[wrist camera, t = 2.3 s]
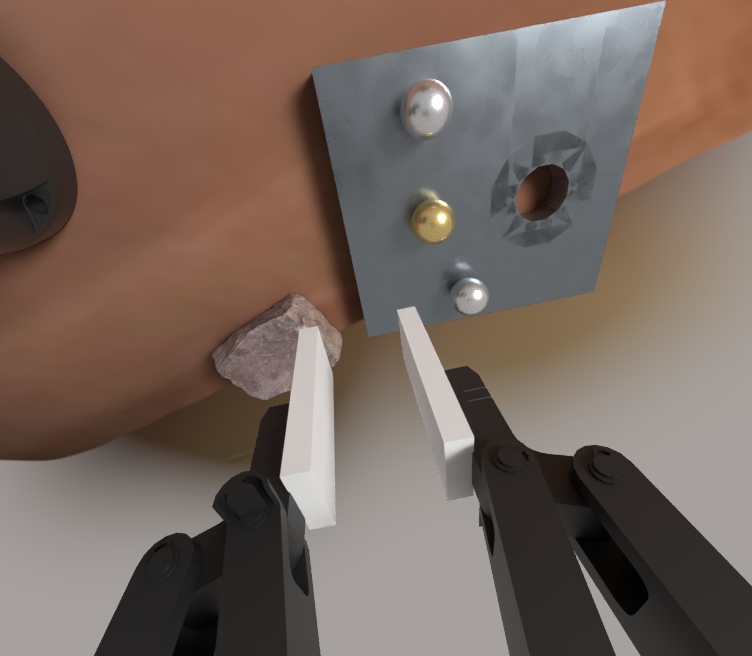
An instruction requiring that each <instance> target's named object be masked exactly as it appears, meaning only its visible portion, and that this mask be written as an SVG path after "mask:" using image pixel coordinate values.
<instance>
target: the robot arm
mask: <svg viewBox="0 0 752 656" xmlns="http://www.w3.org/2000/svg"><path fill="white" fill-rule="evenodd" d="M76 195H77V181H76V173H75V168H74V164H73V160H72V157H71V154H70V151H69V148H68V146H67V144H66V141H65V139H64V137H63V135H62V133H61V131H60V129H59V127H58V126H57V124H56V122H55V120H54V119H53V117H52V116H51V114H50V113H49V111H48V110H47V108H46V107H45V106H44V104H43V103H42V101H41V100H40V99H39V98H38V96H37V95H36V94H35V92H34V91H33V90H32V89H31V88H30V87H29V85H28V84H27V83H26V82H25V81H24V80H23V79H22V78H21V77H20V76H19V75H18V74H17V73H16V72H15V71H14V70H13V69H12V68H11V67H10V66H9V65H8V64H7V63H6V62H5V61H4V60H3V59H1V58H0V254H5V253H10V252H14V251H18V250H21V249H24V248H27V247H29V246H31V245H34V244H36V243H38V242H41V241H43V240H45V239H47V238H49V237H51V236H53V235H54V234H55V233H57V232H58V231H59V230H60V229H61V228H62V227H63V226H64V225H65V224H66V222H67V221H68V220H69V218H70V216H71V214H72V212H73V209H74V206H75V202H76ZM397 315H398V322H399V328H400V335H401V342H402V349H403V356H404V362H405V365H406V368H407V371H408V375H409V377H410V381H411V384H412V387H413V391H414V394H415V397H416V400H417V403H418V407H419V410H420V413H421V416H422V420H423V422H424V426H425V429H426V432H427V436H428V439H429V442H430V445H431V448H432V451H433V455H434V458H435V461H436V465H437V467H438V471H439V474H440V477H441V480H442V484H443V487H444V490H445V493H446V497H447V500H448V501H449V500H454V499H459V498H463V497H468V496H473V487H474V490H475V492H476V495H477V498H478V500H479V503H480V508H479V526H483V531H484V536H485V540H486V545H487V550H488V554H489V559H490V564H491V569H492V574H493V578H494V583H495V588H496V592H497V597H498V602H499V607H500V611H501V616H502V621H503V626H504V631H505V635H506V640H507V645H508V650H509V654H510V656H616V655H615V652H614V650H613V647H612V645H611V642H610V640H609V637H608V635H607V632H606V630H605V628H604V625H603V622H602V620H601V618H600V615H599V613H598V610H597V608H596V605H595V603H594V600H593V598H592V595H591V593H590V590H589V588H588V585H587V583H586V580H585V578H584V575H583V573H582V571H581V568H580V565H579V563H578V560H577V558H576V555H577V556H578V558H579V559H580V561H581V563H582V564H583V566H584V567H585V569H586V570H587V572H588V574H589V575H590V577H591V578H592V580H593V581H594V583H595V585H596V586H597V588H598V589H599V591H600V592H601V594H602V596H603V597H604V599H605V600H606V602H607V603H608V605H609V607H610V608H611V610H612V611H613V613H614V614H615V616H616V618H617V619H618V621H619V622H620V624H621V625H622V627H623V629H624V630H625V632H626V633H627V635H628V637H629V638H630V640H631V641H632V643H633V644H634V646H635V647H636V649H637V651H638V652H639V654H640V655H641V656H752V586H751V585H750V584H749V583H748V582H747V581H746V580H745V579H744V578H743V577H742V576H741V575H740V574H739V573H738V572H737V571H736V569H734V568H733V567H732V565H731V564H730V563H729V562H728V561H727V560H726V559H725V558H724V557H723V556H722V555H721V554H720V553H719V552H718V551H717V550H716V549H715V548H714V547H713V546H712V545H711V544H710V543H709V542H708V541H707V540H706V539H705V538H704V536H703V535H702V534H701V533H700V532H699V531H698V530H697V529H696V528H695V527H694V526H693V525H692V524H691V523H690V522H689V521H688V520H687V519H686V518H685V517H684V516H683V515H682V514H681V513H680V512H679V511H678V510H677V509H676V508H675V507H674V506H673V505H672V503H671V502H669V500H668V499H667V498H666V497H665V496H664V495H663V494H662V493H661V492H660V491H659V490H658V489H657V488H656V487H655V486H654V485H653V484H652V483H651V482H650V481H649V480H648V479H647V478H646V477H645V476H644V475H643V474H642V473H641V471H639V469H638V468H637V467H635V465H634V464H633V463H632V462H631V461H629V460H628V459H627V458H625V457H624V456H623V455H622V454H621V453H619V452H617V451H614V450H612V449H610V448H608V447H603V446H598V445H590V446H584V447H582V448H580V449H579V450H577V451H576V454H575V455H574V456H564V455H553V454H546V453H540V452H537V451H534V450H532V449H530V448H528V447H527V446H525V445H524V444H523V443H521V442H520V441H518V440H517V438H516V437H515V436H514V435H513V433H512V431H511V430H510V428H509V426H508V425H507V423H506V421H505V419H504V418H503V416H502V414H501V413H500V411H499V409H498V407H497V406H496V404H495V402H494V400H493V399H492V398H491V395H490V394H489V392H488V390H487V389H486V388H485V385H484V383H483V382H482V380H481V378H480V376H479V375H478V374H477V373H476V372H474V371H473V370H472V369H470V368H469V367H468V366H465V367H459V368H454V369H449V370H445V371H444V369H443V367H442V365H441V363H440V361H439V359H438V356H437V354H436V352H435V350H434V347H433V345H432V344H431V341H430V339H429V337H428V334H427V332H426V330H425V328H424V325H423V323H422V321H421V319H420V317H419V314H418V312H417V310H416V308H415V306H414V307H409V308H404V309H399V310H397ZM212 507H213V508H214V510H215V511H216V512H217V513H218V514H219V515H220V516H221V518H222V519H223V520H224V521H222V522H221V523H219V524H217V525H216V526H214V527H212V528H210V529H208V530H206V531H205V532H203V533H201V534H199V535H197V536H195V537H193V538H192V539H191V538H190V537H189V536H188V535H187V534H183V533H175V534H172V535H169V536H166V537H164V538H163V539H161V540H160V541H158V542H157V543H155V544H154V545H153V546H152V547H151V548H150V549H149V550H148V551H147V552H146V554H145V555H144V556H143V558H142V559H141V561H140V562H139V564H138V566H137V567H136V569H135V571H134V573H133V575H132V577H131V580H130V582H129V584H128V586H127V588H126V590H125V592H124V594H123V596H122V598H121V600H120V603H119V605H118V607H117V609H116V611H115V613H114V615H113V617H112V619H111V621H110V623H109V625H108V627H107V630H106V632H105V634H104V636H103V638H102V640H101V642H100V644H99V647H98V648H97V651H96V653H95V655H94V656H321V655H320V647H319V637H318V629H317V619H316V611H315V601H314V592H313V583H312V574H311V565H310V556H309V549H308V545H307V542H306V540H305V539H304V534H305V522H306V524H307V526H308V527H309V529H310V530H312V529H317V528H322V527H326V526H331V525H336V514H335V462H334V406H333V373H332V370H331V367H330V364H329V361H328V357H327V354H326V351H325V348H324V345H323V341H322V338H321V335H320V332H319V329H318V326H315V327H310V328H305V329H300V330H299V337H298V345H297V352H296V360H295V367H294V375H293V382H292V389H291V397H290V403H289V404H283V405H279V406H274V407H270V408H269V409H268V411H267V412H266V413H265V415H264V417H263V418H262V420H261V423H260V428H259V432H258V437H257V441H256V448H255V450H254V454H253V459H252V463H251V468H250V471H245V472H242V473H240V474H238V475H236V476H234V477H232V478H231V479H230V480H229V481H227V482H226V483H225V484H224V485H223V486H222V488H221V489H220V491H219V492H218V494H217V495H216V497H215V500H214V503H213V506H212ZM574 552H575V553H576V555H575V553H574Z"/></svg>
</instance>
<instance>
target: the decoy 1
mask: <svg viewBox="0 0 752 656" xmlns="http://www.w3.org/2000/svg"><path fill="white" fill-rule="evenodd" d="M452 113H453V101H452V97H451V94H450V92H449V90H448V88H447V87H446V86H445V85H444V84H443V83H442V82H440V81H438V80H436V79H431V78H427V79H422V80H419V81H417V82H416V83H414V84H413V85H412V86H411V87H410V88H409V89H408V90H407V92H406V93H405V95H404V97H403V100H402V103H401V108H400V117H401V122H402V125H403V127H404V129H405V131H406V132H407V133H408V134H409V135H410V136H411V137H412V138H414V139H416V140H419V141H430V140H433V139H435V138H437V137H438V136H440V135H441V134H442V133H443V132H444V131H445V130H446V128H447V127H448V125H449V123H450V121H451V118H452Z"/></svg>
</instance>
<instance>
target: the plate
mask: <svg viewBox="0 0 752 656" xmlns="http://www.w3.org/2000/svg"><path fill="white" fill-rule="evenodd" d="M665 3H666V1H662V2H656V3H651V4H646V5H641V6H635V7H630V8H625V9H620V10H614V11H609V12H604V13H598V14H593V15H588V16H583V17H577V18H572V19H567V20H562V21H556V22H551V23H546V24H541V25H535V26H530V27H525V28H519V29H514V30H509V31H504V32H498V33H493V34H488V35H483V36H477V37H472V38H467V39H462V40H456V41H451V42H446V43H440V44H435V45H430V46H425V47H419V48H414V49H409V50H404V51H398V52H393V53H388V54H383V55H377V56H372V57H367V58H361V59H356V60H351V61H346V62H340V63H335V64H330V65H325V66H319V67H314V68H311V70H312V75H313V80H314V84H315V89H316V94H317V98H318V103H319V108H320V112H321V117H322V122H323V127H324V131H325V136H326V141H327V145H328V150H329V155H330V159H331V164H332V169H333V174H334V178H335V183H336V188H337V192H338V197H339V202H340V207H341V211H342V216H343V221H344V225H345V230H346V235H347V239H348V244H349V249H350V254H351V258H352V263H353V268H354V272H355V277H356V282H357V286H358V291H359V296H360V301H361V305H362V310H363V315H364V319H365V324H366V328H367V334H368V337H373V336H377V335H382V334H387V333H392V332H397V331H400V328H399V322H398V315H397V310H399V309H404V308H409V307H414V306H415V308H416V310H417V312H418V314H419V317H420V319H421V321H422V323H423V325H424V326H426V325H432V324H437V323H442V322H446V321H451V320H456V319H460V318H466V317H471V316H476V315H481V314H486V313H490V312H495V311H501V310H505V309H511V308H515V307H520V306H525V305H530V304H535V303H540V302H545V301H550V300H555V299H560V298H565V297H570V296H575V295H579V294H584V293H589V292H594V290H595V286H596V282H597V278H598V274H599V270H600V265H601V262H602V257H603V253H604V249H605V245H606V241H607V237H608V233H609V229H610V225H611V221H612V217H613V213H614V209H615V205H616V201H617V197H618V193H619V189H620V185H621V181H622V177H623V173H624V169H625V165H626V161H627V157H628V153H629V149H630V144H631V140H632V136H633V132H634V128H635V124H636V120H637V116H638V112H639V108H640V104H641V100H642V96H643V92H644V88H645V84H646V80H647V76H648V72H649V68H650V64H651V60H652V56H653V52H654V48H655V44H656V39H657V35H658V31H659V27H660V23H661V19H662V15H663V11H664V7H665ZM427 78H431V79H436V80H438V81H440V82H442V83H443V84H444V85H445V86H446V87H447V88H448V90H449V92H450V94H451V97H452V101H453V113H452V118H451V121H450V123H449V125H448V127H447V128H446V130H445V131H444V132H443V133H442V134H441V135H440V136H438V137H437V138H435V139H433V140H430V141H419V140H416V139H414V138H412V137H411V136H410V135H409V134H408V133H407V132H406V131H405V129H404V127H403V125H402V122H401V117H400V108H401V103H402V100H403V97H404V95H405V93H406V92H407V90H408V89H409V88H410V87H411V86H412V85H413V84H414V83H416V82H417V81H419V80H422V79H427ZM544 165H547V166H548V168H549V170H550V173H551V175H552V182H551V190H550V192H549V194H548V195H547V197H546V199H545V200H544V202H543V204H541V205H540V206H539V207H537V208H536V209H535V210H533V211H532V212H530V213H525V214H520V213H519V211H518V209H517V207H516V200H517V191H518V189H519V188H520V186H521V184H522V182H523V180H524V179H525V177H526V176H527V175H529V174H530V173H531V172H532V171H534V170H535V169H536V168H537V167H539V166H544ZM430 199H439V200H442V201H444V202H446V203H447V204H448V205H449V206H450V207H451V208H452V210H453V212H454V214H455V227H454V230H453V232H452V234H451V235H450V237H449V238H448V239H447V240H445V241H444V242H442V243H440V244H437V245H427V244H424V243H422V242H420V241H419V240H418V239H417V238H416V237H415V235H414V234H413V232H412V228H411V218H412V215H413V212H414V211H415V209H416V208H417V207H418V206H419V205H420V204H421V203H422V202H424V201H426V200H430ZM464 278H476V279H479V280H480V281H482V282H483V283H484V284H485V285H486V287H487V289H488V291H489V300H488V303H487V305H486V307H485V308H484V309H483V310H482V311H481V312H479V313H477V314H475V315H463V314H461V313H459V312H457V311H456V310H455V309H454V308H453V306H452V304H451V301H450V292H451V290H452V288H453V286H454V285H455V284H456V283H457V282H458V281H459V280H461V279H464Z"/></svg>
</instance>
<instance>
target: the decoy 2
mask: <svg viewBox="0 0 752 656" xmlns="http://www.w3.org/2000/svg"><path fill="white" fill-rule="evenodd" d="M488 300H489V291H488V289H487V287H486V285H485V284H484V283H483V282H482V281H480V280H479V279H476V278H464V279H461V280H459V281H458V282H457V283H456V284H455V285H454V286H453V288H452V290H451V292H450V301H451V304H452V306H453V308H454V309H455V310H456V311H457V312H459V313H461V314H463V315H475V314H477V313H479V312H481V311H482V310H483V309H484V308H485V307H486V305H487V303H488Z"/></svg>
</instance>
